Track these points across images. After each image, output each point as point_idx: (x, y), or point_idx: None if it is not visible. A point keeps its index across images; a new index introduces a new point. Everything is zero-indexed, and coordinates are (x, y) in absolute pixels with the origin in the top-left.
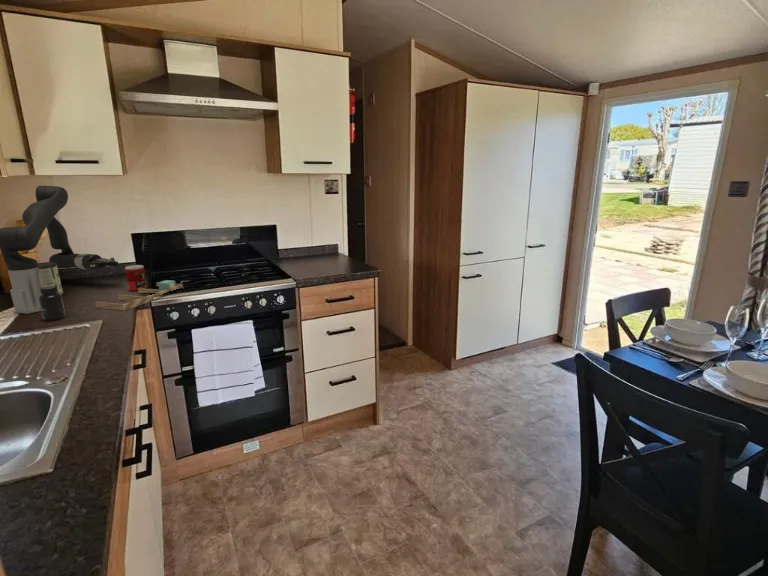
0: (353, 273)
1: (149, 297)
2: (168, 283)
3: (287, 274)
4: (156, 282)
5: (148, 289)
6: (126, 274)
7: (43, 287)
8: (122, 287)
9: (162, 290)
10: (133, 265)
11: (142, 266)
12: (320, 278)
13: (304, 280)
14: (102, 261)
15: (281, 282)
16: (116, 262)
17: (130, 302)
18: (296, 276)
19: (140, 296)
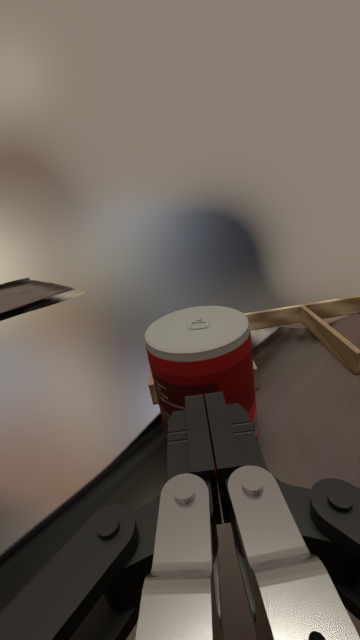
0: (30, 281)
1: (288, 311)
2: None
3: (15, 308)
4: (153, 383)
5: None
6: (251, 362)
7: None
8: None
9: None
10: (164, 348)
11: (173, 314)
12: (57, 284)
13: (68, 287)
14: (331, 600)
15: (80, 292)
16: (207, 396)
17: (354, 296)
18: (36, 298)
19: (308, 311)
